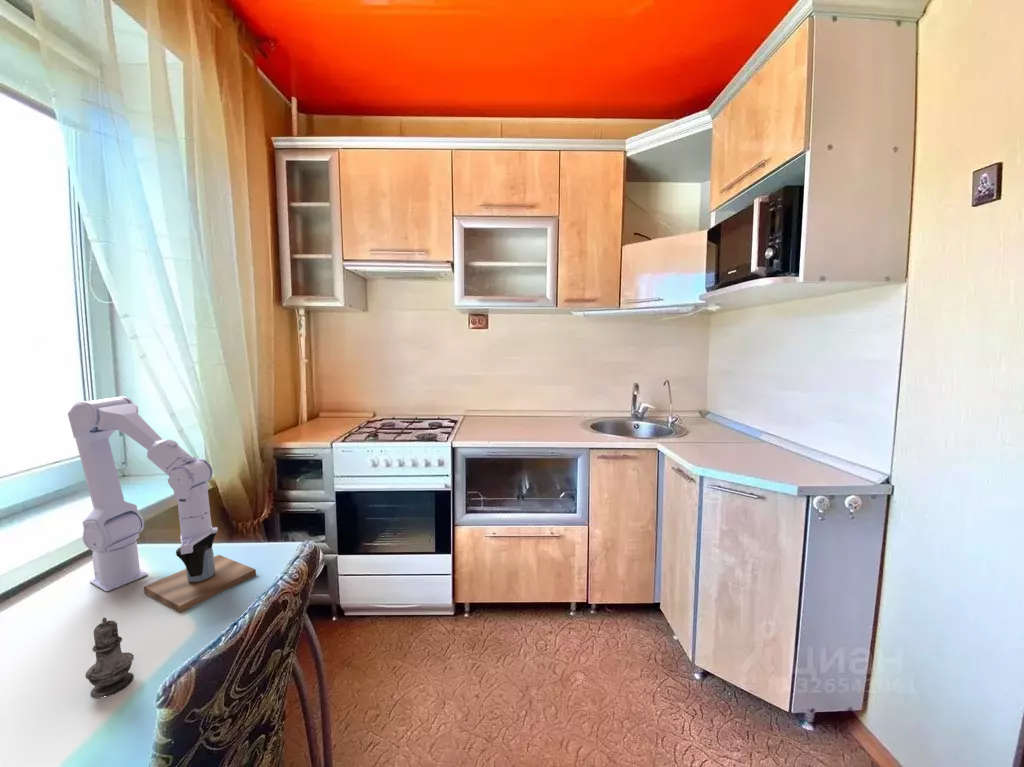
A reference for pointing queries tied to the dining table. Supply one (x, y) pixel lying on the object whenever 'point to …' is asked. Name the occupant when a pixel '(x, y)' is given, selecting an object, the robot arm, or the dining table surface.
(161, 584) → the walnut board
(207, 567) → the cap
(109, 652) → the dark grey tiered piece
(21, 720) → the dining table surface
